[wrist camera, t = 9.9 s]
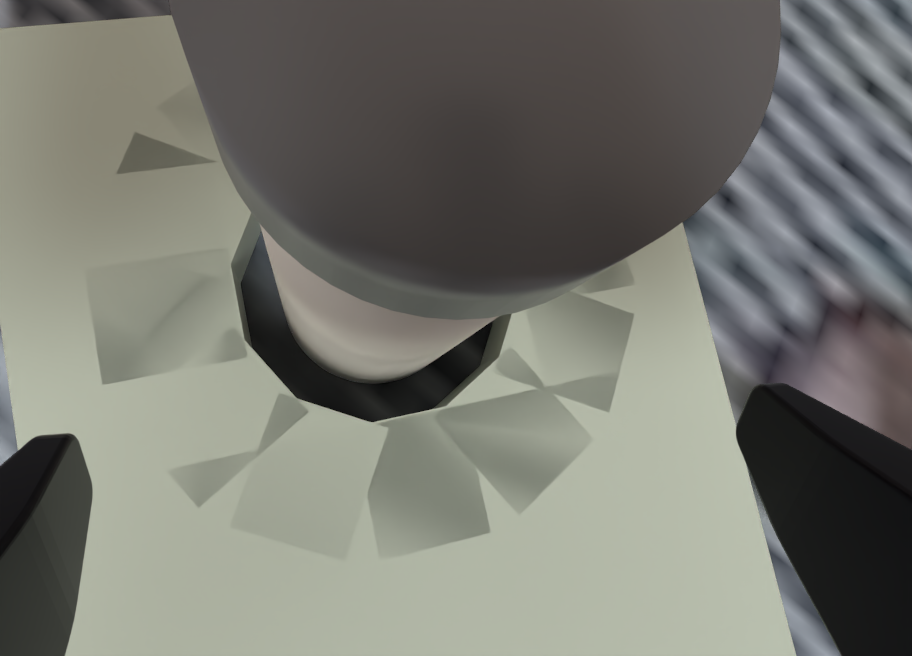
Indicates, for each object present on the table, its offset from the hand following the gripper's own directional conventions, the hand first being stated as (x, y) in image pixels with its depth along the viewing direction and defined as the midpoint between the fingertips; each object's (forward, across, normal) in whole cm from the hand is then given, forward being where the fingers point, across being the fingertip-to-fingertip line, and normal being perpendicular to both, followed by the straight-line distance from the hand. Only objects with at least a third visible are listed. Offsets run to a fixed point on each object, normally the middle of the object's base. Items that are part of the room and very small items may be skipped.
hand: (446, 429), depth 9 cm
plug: (+9, 0, +3) cm, 9 cm away
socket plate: (+7, 0, +6) cm, 9 cm away
